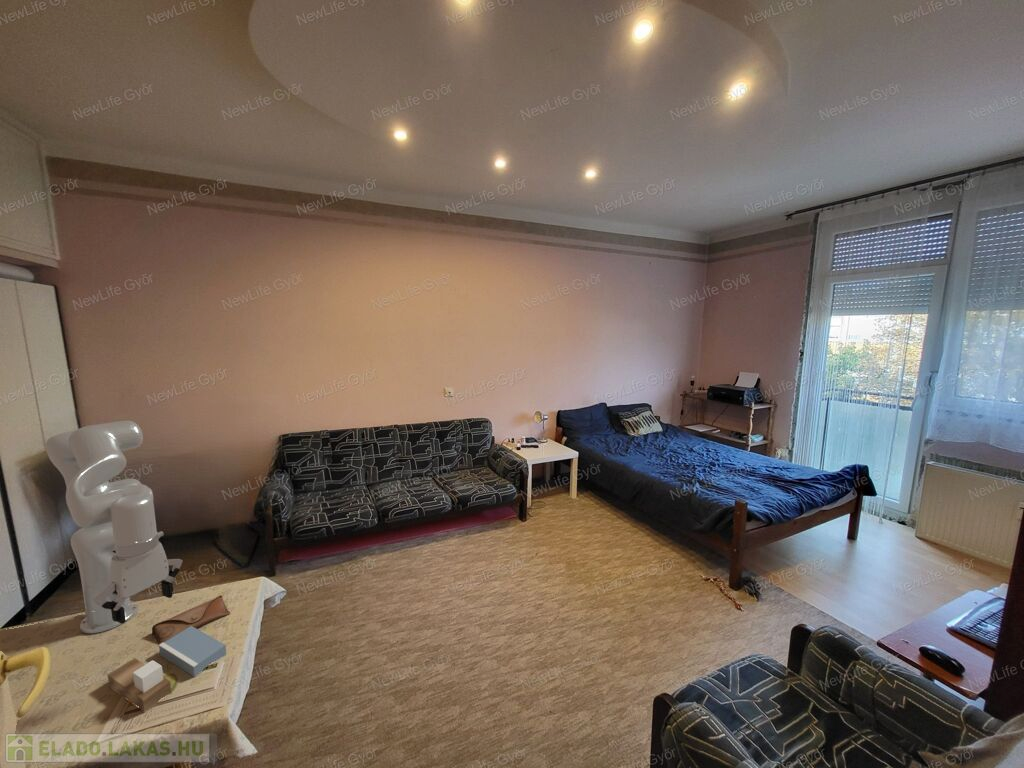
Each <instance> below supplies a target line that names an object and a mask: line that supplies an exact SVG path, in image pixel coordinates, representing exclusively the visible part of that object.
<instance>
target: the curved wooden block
mask: <svg viewBox="0 0 1024 768" xmlns="http://www.w3.org/2000/svg"><path fill="white" fill-rule="evenodd" d="M144 665H146V663H144V662H142V661H140V660H138V659H137V658H135V657H134V658H132V659H130V660H129V661H128V662H125V663H124V664H122V665H121V666H119V667H118V668H115V669H114V670H112V671H111V672H109V673H107V680H108V681H107V682H108V687H109V688H110V689H112V690H113V691H114V692H115V693H117V694H118V695H120V696H121V697H123V698H124V697H125V698H127V699H128V700H129V701H130V702H129V701H128V700H127V699H126V700H127V701H128V702H129V703H131V702H132V703H134V704H135V705H137V706H139V708H140V709H141V710H140V709H139V708H138V709H139V710H140V711H141V712H143V713H146V712H148V711H149V710H151V709H152V708H154V707H155V706H156V705H158V704H159V703H158V701H159V700H160V699H161V698H163V697H165V696H166V695H168V694H170V693H171V694H172V686H171V680H169V679H167V678H166V677H165V676H163V680H162V681H161V682H159V683H158V684H156V685H155V686H153V687H152V688H151V689H149V690H148V691H146V692H145V693H143V692H142V691H140V690H139V689H137V688H136V687H135V685H134V677H133V672H135V671H136V670H138V669H139V668H141V667H143V666H144ZM171 694H170V695H171ZM125 698H124V699H125ZM132 703H131V704H132ZM157 703H158V704H157ZM135 705H134V706H135Z"/></svg>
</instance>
